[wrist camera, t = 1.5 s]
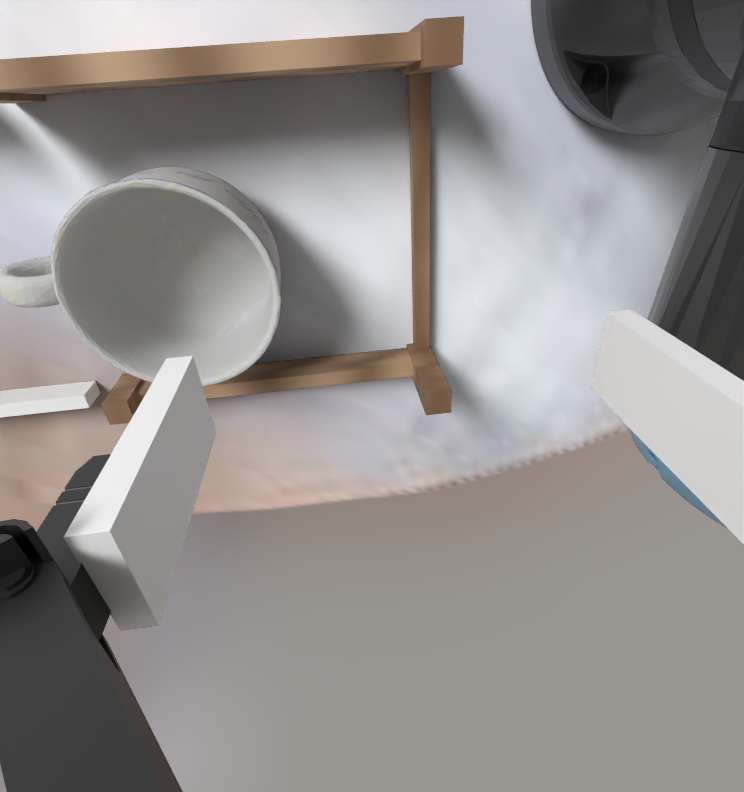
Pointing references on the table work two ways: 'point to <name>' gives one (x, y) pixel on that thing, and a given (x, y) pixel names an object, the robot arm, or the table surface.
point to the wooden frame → (409, 52)
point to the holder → (48, 398)
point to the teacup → (161, 274)
